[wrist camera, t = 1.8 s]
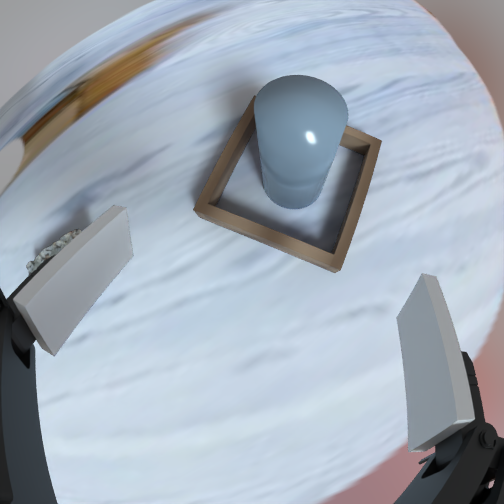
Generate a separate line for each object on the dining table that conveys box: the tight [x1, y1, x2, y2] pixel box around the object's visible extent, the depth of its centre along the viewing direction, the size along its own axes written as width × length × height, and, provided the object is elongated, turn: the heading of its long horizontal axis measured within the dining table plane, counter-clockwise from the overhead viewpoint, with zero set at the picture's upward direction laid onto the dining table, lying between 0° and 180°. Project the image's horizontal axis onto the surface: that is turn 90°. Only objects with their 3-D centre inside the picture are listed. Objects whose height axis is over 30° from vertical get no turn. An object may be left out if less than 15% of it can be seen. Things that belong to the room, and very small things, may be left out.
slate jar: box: [254, 75, 348, 209], centre depth 22 cm, size 6×6×12 cm
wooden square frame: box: [193, 95, 382, 273], centre depth 27 cm, size 14×14×2 cm
